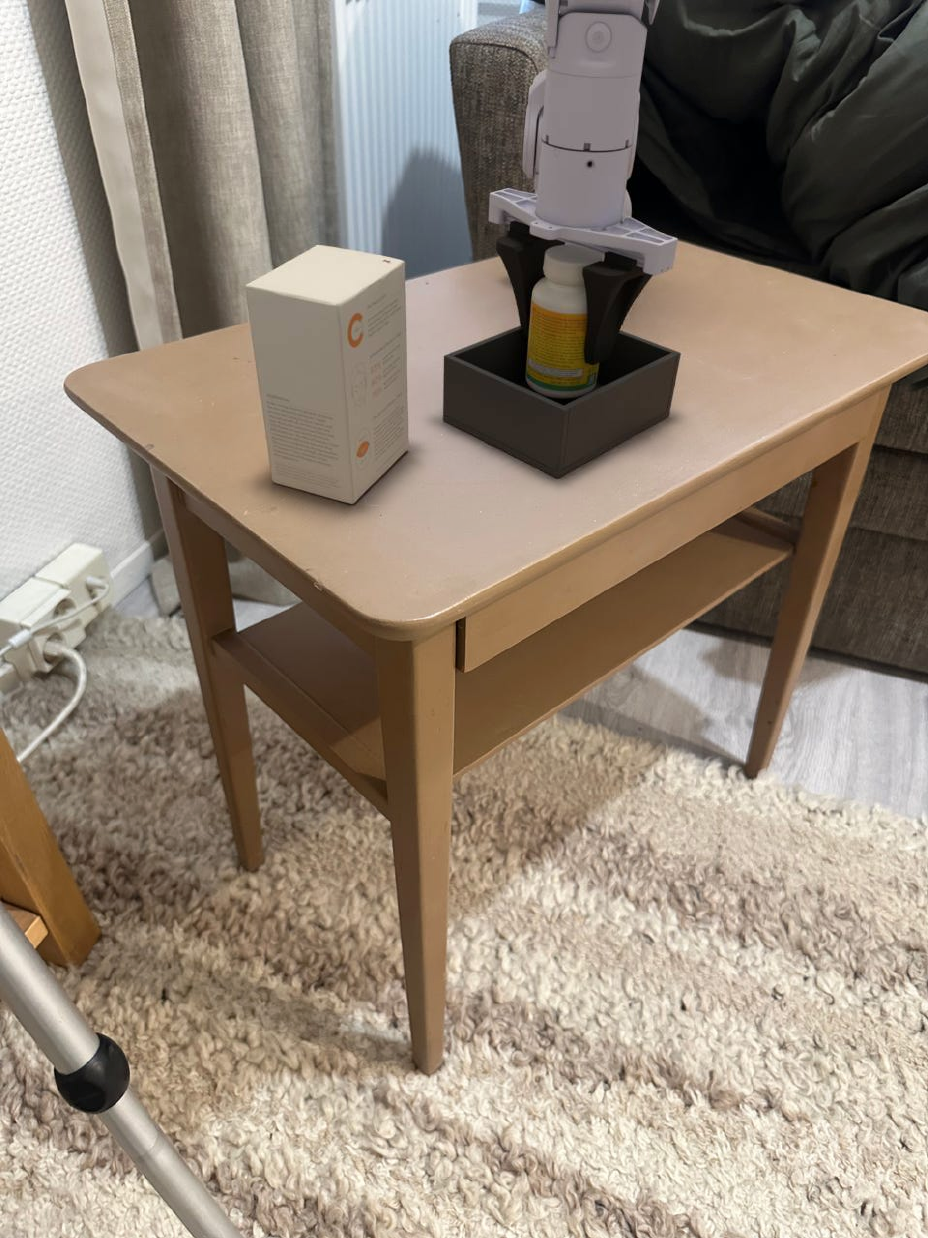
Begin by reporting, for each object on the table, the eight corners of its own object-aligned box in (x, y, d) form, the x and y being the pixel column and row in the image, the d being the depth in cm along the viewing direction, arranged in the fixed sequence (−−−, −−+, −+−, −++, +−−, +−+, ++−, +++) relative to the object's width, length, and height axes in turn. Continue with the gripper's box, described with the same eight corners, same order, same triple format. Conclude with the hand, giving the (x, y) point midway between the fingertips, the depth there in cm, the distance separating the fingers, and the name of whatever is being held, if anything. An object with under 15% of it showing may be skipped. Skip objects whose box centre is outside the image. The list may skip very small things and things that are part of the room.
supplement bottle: (526, 366, 70) (536, 238, 63) (596, 371, 69) (613, 242, 63) (522, 397, 66) (533, 264, 59) (596, 403, 65) (614, 269, 59)
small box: (331, 429, 64) (317, 241, 56) (411, 449, 62) (408, 258, 54) (268, 483, 59) (241, 282, 50) (352, 507, 57) (340, 303, 48)
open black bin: (556, 368, 73) (562, 308, 70) (669, 416, 67) (681, 352, 64) (442, 420, 66) (443, 355, 63) (557, 478, 60) (564, 410, 57)
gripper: (460, 128, 58) (456, 331, 67) (642, 176, 51) (610, 397, 60) (532, 114, 62) (519, 307, 71) (710, 156, 55) (671, 366, 63)
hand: (564, 346), depth 66 cm, fingers closed on supplement bottle, 5 cm apart
